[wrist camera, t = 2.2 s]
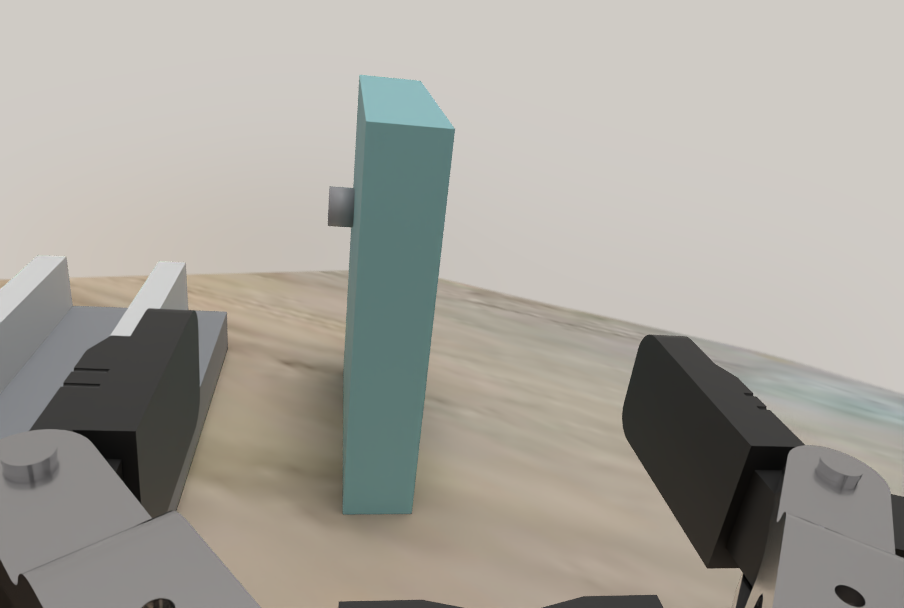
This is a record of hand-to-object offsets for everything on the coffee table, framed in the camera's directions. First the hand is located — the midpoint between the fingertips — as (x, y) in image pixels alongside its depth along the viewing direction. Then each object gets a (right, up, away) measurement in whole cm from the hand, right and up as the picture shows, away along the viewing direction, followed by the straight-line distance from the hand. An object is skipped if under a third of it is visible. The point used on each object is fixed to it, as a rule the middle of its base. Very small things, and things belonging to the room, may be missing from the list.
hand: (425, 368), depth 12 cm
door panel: (-3, -4, +17) cm, 18 cm away
